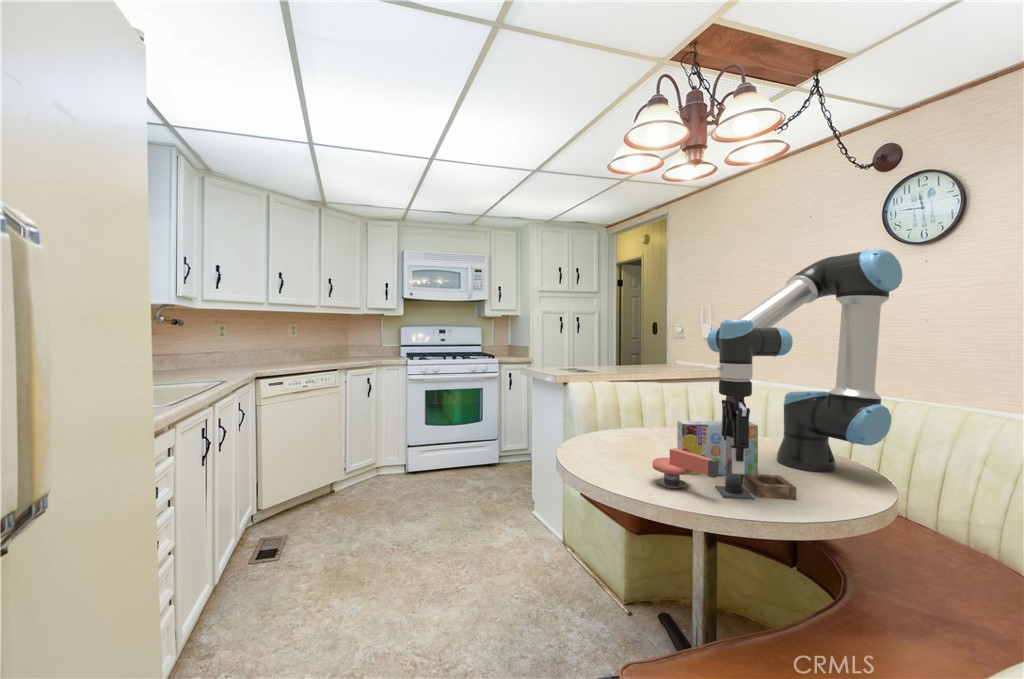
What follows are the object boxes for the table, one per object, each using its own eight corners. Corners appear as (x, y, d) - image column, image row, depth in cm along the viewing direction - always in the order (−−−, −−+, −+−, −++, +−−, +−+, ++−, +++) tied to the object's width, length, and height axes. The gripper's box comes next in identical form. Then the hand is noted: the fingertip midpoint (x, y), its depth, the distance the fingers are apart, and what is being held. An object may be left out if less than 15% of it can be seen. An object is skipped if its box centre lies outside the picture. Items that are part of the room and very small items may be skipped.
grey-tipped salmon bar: (728, 479, 107) (728, 458, 106) (703, 487, 101) (703, 464, 101) (668, 460, 122) (669, 442, 122) (644, 466, 117) (645, 446, 117)
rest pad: (743, 489, 112) (743, 487, 112) (753, 499, 105) (753, 497, 105) (715, 487, 113) (715, 485, 113) (723, 497, 106) (723, 495, 106)
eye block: (780, 486, 114) (780, 475, 114) (796, 499, 105) (796, 487, 105) (744, 484, 115) (744, 473, 115) (757, 497, 106) (757, 485, 106)
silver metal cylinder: (739, 488, 110) (740, 435, 110) (745, 494, 106) (746, 440, 106) (723, 487, 111) (724, 435, 110) (728, 493, 107) (729, 439, 107)
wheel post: (682, 480, 118) (682, 466, 118) (688, 489, 111) (688, 474, 111) (656, 478, 119) (656, 464, 119) (660, 488, 112) (660, 473, 112)
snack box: (749, 471, 127) (750, 421, 126) (758, 477, 121) (759, 425, 121) (676, 468, 129) (677, 419, 129) (681, 474, 123) (682, 423, 123)
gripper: (709, 375, 118) (708, 458, 118) (731, 383, 100) (730, 480, 100) (738, 376, 116) (737, 459, 117) (765, 384, 99) (764, 483, 99)
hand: (734, 469), depth 109 cm, fingers open, 5 cm apart
